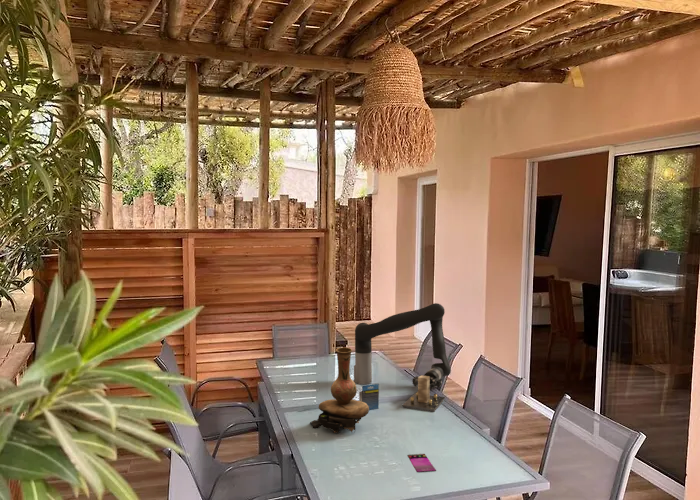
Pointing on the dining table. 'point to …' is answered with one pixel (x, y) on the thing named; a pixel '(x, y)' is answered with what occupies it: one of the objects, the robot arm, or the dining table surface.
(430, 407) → the chassis
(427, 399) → the maple block
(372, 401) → the label tape box
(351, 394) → the vase
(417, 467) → the smartphone
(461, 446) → the dining table surface
